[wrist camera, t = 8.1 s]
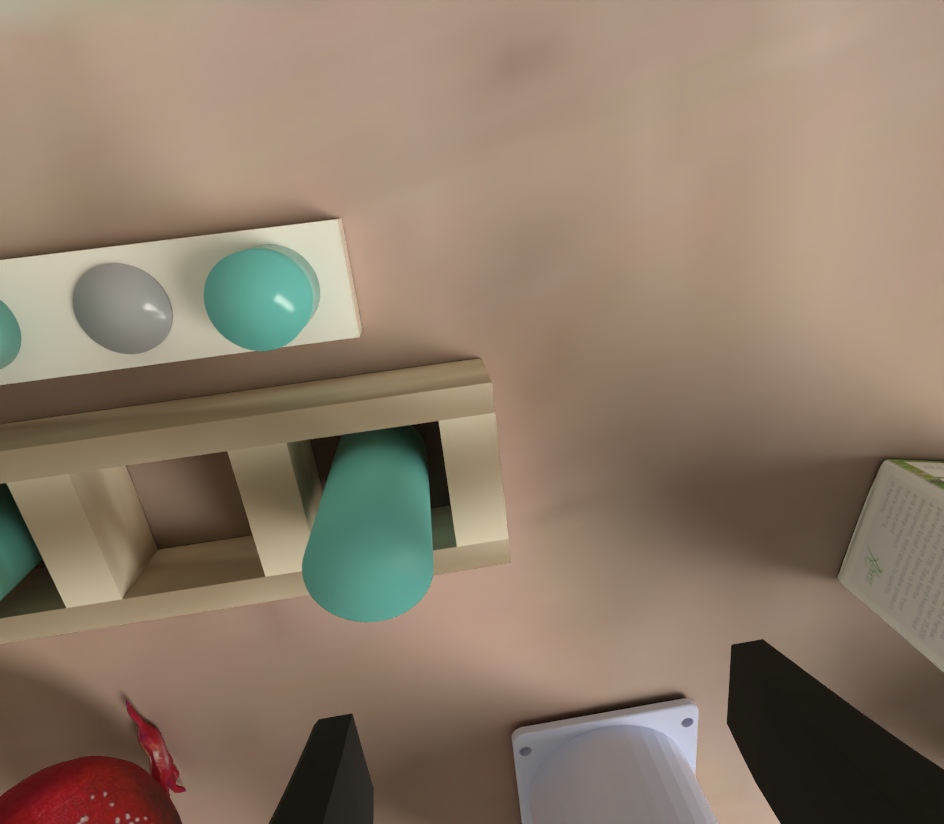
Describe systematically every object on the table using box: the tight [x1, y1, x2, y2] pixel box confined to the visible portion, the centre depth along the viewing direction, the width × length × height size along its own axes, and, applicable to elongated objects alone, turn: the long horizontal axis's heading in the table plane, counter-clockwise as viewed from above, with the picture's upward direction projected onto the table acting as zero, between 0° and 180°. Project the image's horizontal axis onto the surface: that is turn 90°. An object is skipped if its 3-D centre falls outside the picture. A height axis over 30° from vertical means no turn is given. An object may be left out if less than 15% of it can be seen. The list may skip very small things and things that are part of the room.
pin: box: [302, 425, 434, 622], centre depth 16 cm, size 3×3×6 cm
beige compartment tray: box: [0, 358, 511, 644], centre depth 15 cm, size 6×19×6 cm, turn 96°
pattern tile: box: [0, 218, 362, 385], centre depth 14 cm, size 3×12×3 cm, turn 96°
